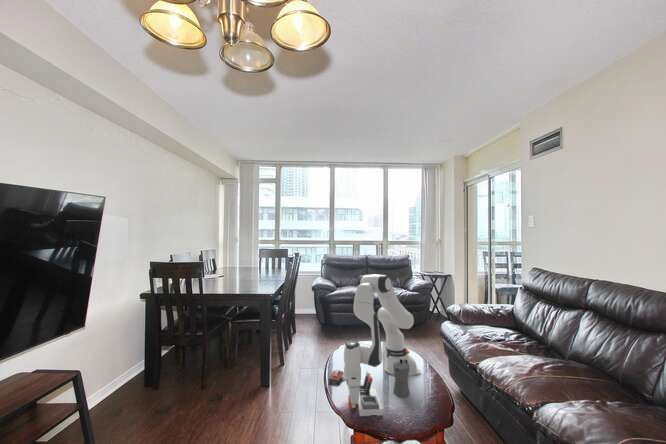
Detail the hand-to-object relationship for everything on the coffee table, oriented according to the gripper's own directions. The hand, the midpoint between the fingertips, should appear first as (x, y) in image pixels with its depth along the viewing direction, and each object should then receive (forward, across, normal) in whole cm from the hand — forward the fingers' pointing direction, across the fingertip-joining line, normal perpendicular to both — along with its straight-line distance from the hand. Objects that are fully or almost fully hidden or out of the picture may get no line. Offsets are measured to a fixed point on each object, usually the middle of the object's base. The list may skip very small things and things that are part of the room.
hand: (352, 402), depth 151 cm
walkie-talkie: (+2, -30, -5) cm, 31 cm away
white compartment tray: (+2, -1, +8) cm, 8 cm away
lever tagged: (-1, -2, +7) cm, 7 cm away
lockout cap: (+2, 0, 0) cm, 2 cm away
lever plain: (-1, -8, +7) cm, 11 cm away
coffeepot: (+2, -12, +29) cm, 31 cm away
